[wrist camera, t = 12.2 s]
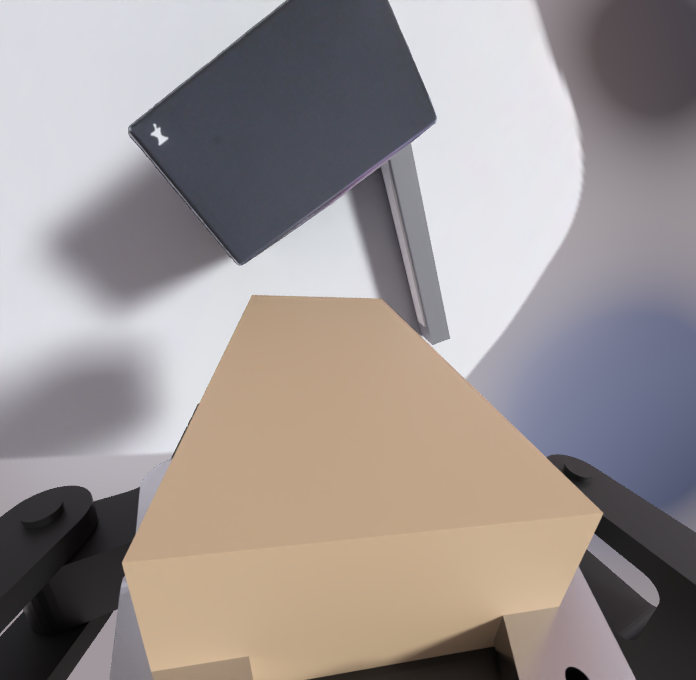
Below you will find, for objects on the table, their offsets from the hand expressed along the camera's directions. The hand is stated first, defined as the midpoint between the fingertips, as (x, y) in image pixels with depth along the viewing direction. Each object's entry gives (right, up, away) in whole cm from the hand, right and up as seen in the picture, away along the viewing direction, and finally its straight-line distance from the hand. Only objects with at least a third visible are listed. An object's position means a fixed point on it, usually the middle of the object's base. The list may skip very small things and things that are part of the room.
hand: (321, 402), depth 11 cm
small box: (-3, +14, +11) cm, 18 cm away
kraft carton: (0, +1, +1) cm, 2 cm away
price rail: (+5, +12, +13) cm, 18 cm away
